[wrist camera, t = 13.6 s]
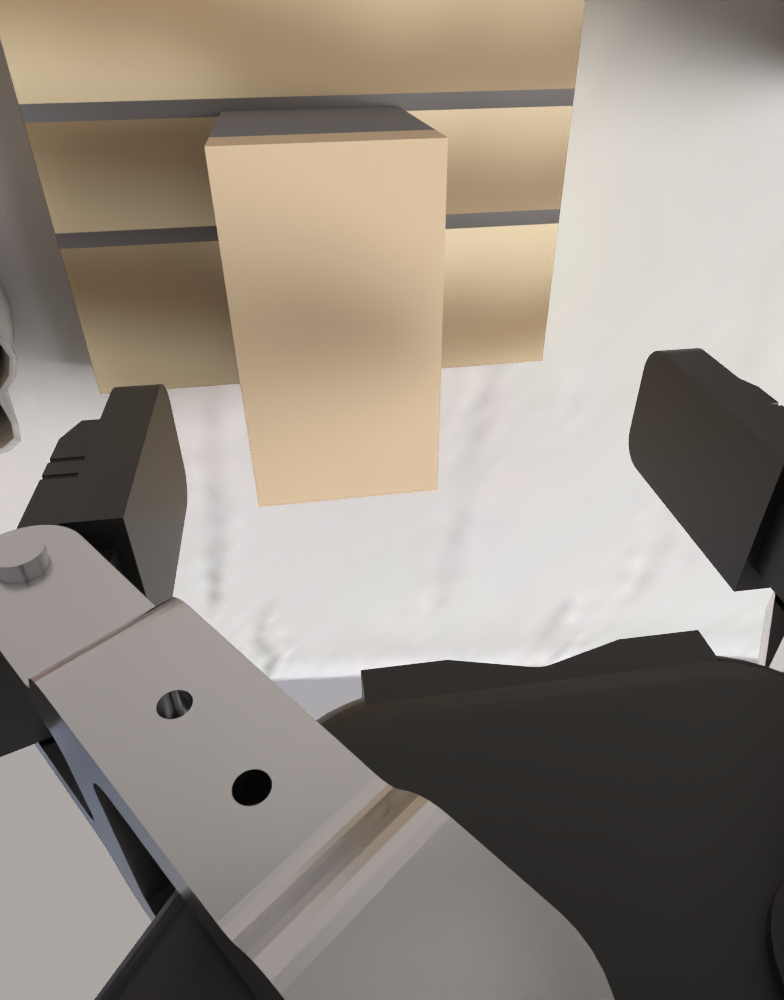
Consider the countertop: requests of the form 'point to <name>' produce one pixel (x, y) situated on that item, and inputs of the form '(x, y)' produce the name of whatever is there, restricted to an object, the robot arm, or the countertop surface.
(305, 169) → the block
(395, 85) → the slatted wooden trivet
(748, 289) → the countertop surface
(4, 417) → the cupcake
